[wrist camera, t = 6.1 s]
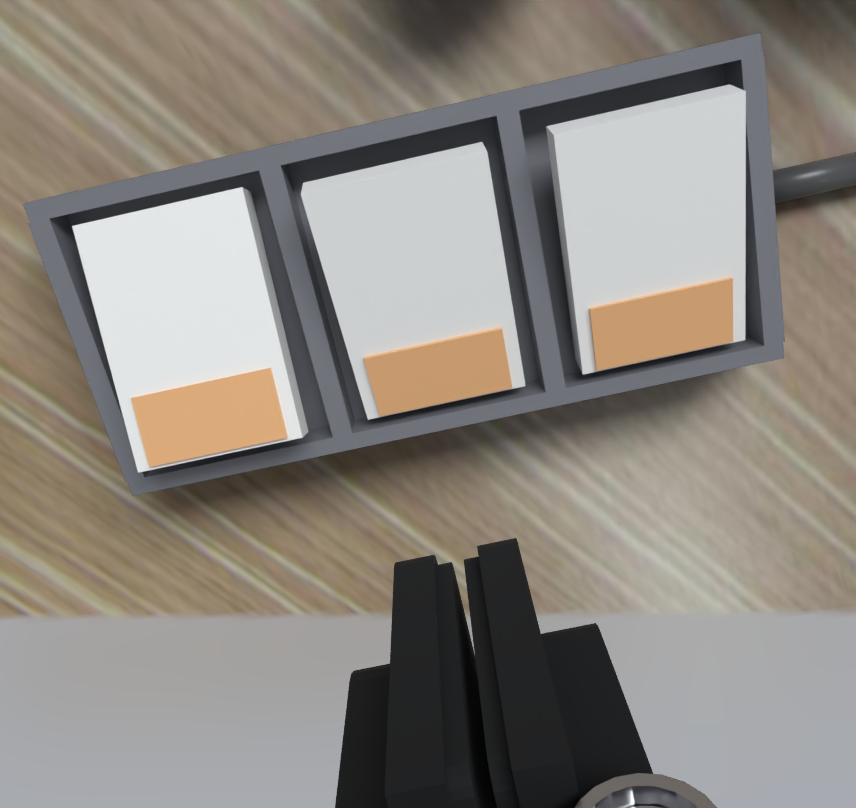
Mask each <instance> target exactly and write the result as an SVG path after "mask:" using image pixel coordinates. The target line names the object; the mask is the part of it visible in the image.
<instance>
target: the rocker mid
mask: <svg viewBox="0 0 856 808" xmlns="http://www.w3.org/2000/svg"><path fill="white" fill-rule="evenodd" d="M301 197H302V201H303V204H304V207H305V211H306V214H307V217H308V221H309V224H310V227H311V231H312V234H313V238H314V241H315V244H316V248H317V251H318V254H319V258H320V261H321V264H322V268H323V271H324V274H325V278H326V281H327V285H328V288H329V291H330V295H331V298H332V301H333V305H334V308H335V311H336V315H337V318H338V321H339V325H340V328H341V331H342V335H343V338H344V342H345V345H346V348H347V352H348V355H349V358H350V362H351V365H352V368H353V372H354V375H355V378H356V382H357V385H358V389H359V392H360V395H361V399H362V402H363V405H364V409H365V412H366V415H367V419H368V420H369V419H374V418H379V417H383V416H388V415H393V414H397V413H402V412H407V411H411V410H416V409H421V408H425V407H430V406H435V405H440V404H444V403H449V402H454V401H458V400H463V399H468V398H472V397H477V396H482V395H486V394H491V393H496V392H500V391H505V390H510V389H515V388H519V387H524V386H526V385H525V379H524V373H523V367H522V361H521V355H520V349H519V343H518V336H517V330H516V324H515V318H514V312H513V306H512V300H511V294H510V288H509V281H508V275H507V269H506V263H505V257H504V251H503V245H502V239H501V233H500V226H499V220H498V214H497V208H496V202H495V196H494V190H493V184H492V178H491V171H490V165H489V159H488V153H487V150H486V148H485V146H484V144H483V143H482V142H479V143H475V144H470V145H466V146H462V147H457V148H453V149H449V150H444V151H440V152H436V153H431V154H427V155H422V156H418V157H414V158H409V159H405V160H401V161H396V162H392V163H387V164H383V165H379V166H374V167H370V168H366V169H361V170H357V171H353V172H348V173H344V174H339V175H335V176H331V177H326V178H322V179H318V180H313V181H309V182H304V183H303V186H302V191H301Z"/></svg>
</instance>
